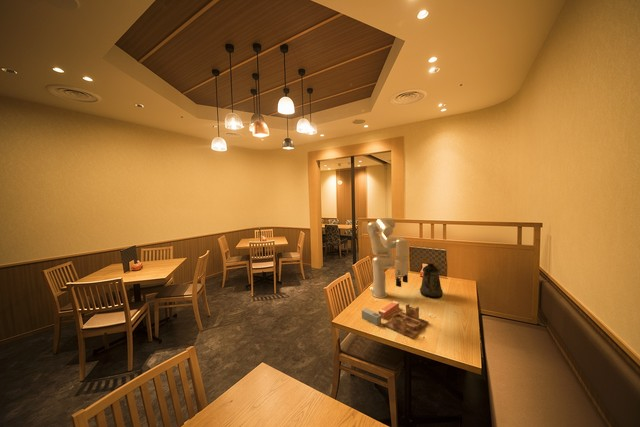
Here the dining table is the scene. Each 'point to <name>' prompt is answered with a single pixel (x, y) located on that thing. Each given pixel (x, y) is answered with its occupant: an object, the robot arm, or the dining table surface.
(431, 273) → the black backpack
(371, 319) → the grey rectangular block
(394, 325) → the jig
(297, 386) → the dining table surface
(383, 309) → the orange banded bar
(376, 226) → the robot arm
